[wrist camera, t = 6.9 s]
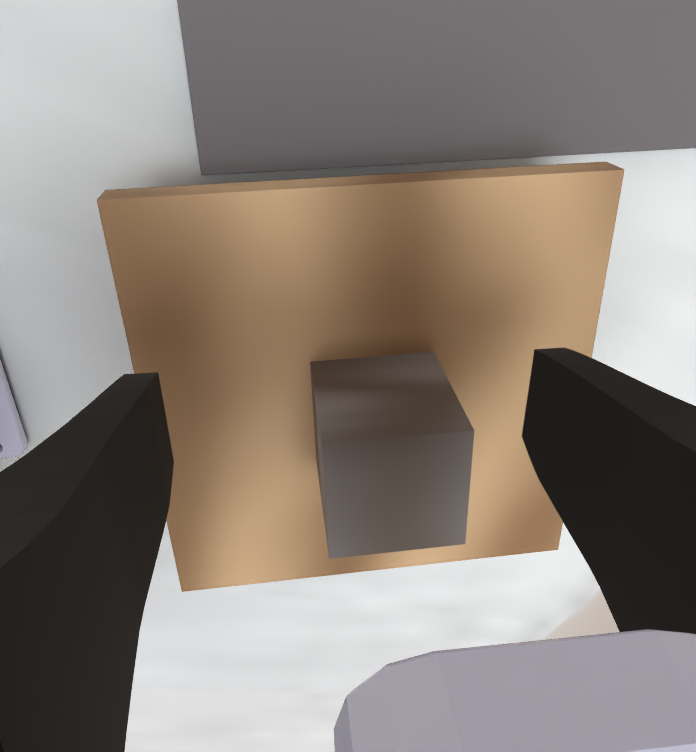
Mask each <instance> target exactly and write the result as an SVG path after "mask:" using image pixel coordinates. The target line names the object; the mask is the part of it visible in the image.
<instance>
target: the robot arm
mask: <svg viewBox="0 0 696 752" xmlns="http://www.w3.org/2000/svg"><path fill="white" fill-rule="evenodd" d="M522 439H523V441H524V444H525V447H526V449H527V452H528V455H529V457H530V460H531V462H532V465H533V467H534V470H535V472H536V475H537V477H538V479H539V481H540V483H541V484H542V486H543V488H544V490H545V491H546V493H547V495H548V497H549V498H550V500H551V502H552V504H553V505H554V507H555V509H556V511H557V512H558V514H559V516H560V517H561V519H562V521H563V523H564V524H565V526H566V528H567V529H568V531H569V533H570V534H571V536H572V538H573V540H574V541H575V543H576V545H577V546H578V548H579V550H580V551H581V553H582V555H583V557H584V558H585V560H586V562H587V563H588V565H589V567H590V569H591V571H592V573H593V575H594V576H595V578H596V580H597V582H598V584H599V586H600V588H601V590H602V593H603V595H604V597H605V599H606V601H607V604H608V606H609V609H610V611H611V613H612V615H613V618H614V620H615V622H616V624H617V627H618V629H619V631H620V632H618V633H608V634H599V635H589V636H579V637H569V638H559V639H549V640H540V641H530V642H520V643H510V644H501V645H491V646H481V647H471V648H462V649H452V650H442V651H433V652H430V653H426V654H422V655H419V656H415V657H412V658H408V659H405V660H401V661H397V662H394V663H390V664H387V665H386V666H385V667H383V668H382V669H381V670H379V671H378V672H377V673H375V674H374V675H373V676H371V677H370V678H369V679H367V680H366V681H365V682H363V683H362V684H361V685H359V686H358V687H357V688H355V689H354V690H353V691H352V692H351V693H350V694H348V695H347V696H346V699H345V701H344V704H343V707H342V709H341V712H340V714H339V717H338V719H337V722H336V725H335V727H334V746H335V752H696V406H694V405H691V404H689V403H687V402H684V401H682V400H680V399H677V398H675V397H673V396H670V395H668V394H666V393H664V392H662V391H659V390H657V389H655V388H653V387H651V386H649V385H647V384H644V383H642V382H640V381H638V380H636V379H634V378H632V377H630V376H628V375H626V374H624V373H622V372H620V371H617V370H615V369H613V368H611V367H609V366H607V365H605V364H603V363H601V362H599V361H597V360H595V359H592V358H590V357H588V356H586V355H583V354H581V353H579V352H576V351H574V350H571V349H568V348H565V347H564V348H548V349H534V355H533V362H532V369H531V376H530V383H529V389H528V396H527V403H526V410H525V417H524V424H523V431H522ZM0 444H1V446H2V447H1V448H0V458H8V457H16V456H19V455H20V454H22V453H23V451H24V449H25V447H26V445H27V439H26V436H25V433H24V430H23V427H22V424H21V421H20V418H19V415H18V412H17V409H16V406H15V403H14V400H13V397H12V394H11V391H10V388H9V384H8V381H7V378H6V375H5V372H4V369H3V366H2V363H1V360H0ZM173 467H174V459H173V453H172V448H171V442H170V436H169V431H168V425H167V419H166V414H165V408H164V402H163V396H162V391H161V385H160V379H159V374H158V372H154V373H138V374H124V375H123V376H122V377H120V378H119V379H118V380H117V381H115V382H114V383H113V384H112V385H111V386H109V387H108V388H107V389H106V390H105V391H104V392H103V393H101V394H100V395H99V396H98V397H97V398H96V399H95V400H93V401H92V402H91V403H90V404H89V405H88V406H86V407H85V408H84V409H83V410H82V411H81V412H79V413H78V414H77V415H76V416H75V417H73V418H72V419H71V420H70V421H69V422H68V423H66V424H65V425H64V426H63V427H61V428H60V429H59V430H58V431H56V432H55V433H54V434H52V435H51V436H50V437H48V438H47V439H46V440H44V441H43V442H42V443H41V444H39V445H38V446H37V447H35V448H34V449H33V450H31V451H30V452H29V453H27V454H26V455H25V456H23V457H22V458H20V459H19V460H18V461H16V462H15V463H13V464H12V465H10V466H9V467H7V468H6V469H4V470H3V471H1V472H0V752H124V750H125V740H126V731H127V723H128V715H129V706H130V698H131V690H132V681H133V674H134V667H135V659H136V652H137V645H138V638H139V630H140V625H141V620H142V616H143V611H144V606H145V602H146V598H147V594H148V590H149V586H150V582H151V578H152V574H153V570H154V567H155V563H156V559H157V555H158V551H159V547H160V543H161V539H162V535H163V531H164V527H165V523H166V519H167V514H168V510H169V506H170V497H171V488H172V478H173Z"/></svg>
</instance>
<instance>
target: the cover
mask: <svg viewBox="0 0 696 752" xmlns="http://www.w3.org/2000/svg"><path fill="white" fill-rule="evenodd" d="M623 175H624V169H622V168H620V167H617V166H615V165H613V164H610V163H608V162H593V163H575V164H557V165H540V166H522V167H504V168H487V169H469V170H451V171H434V172H416V173H398V174H381V175H363V176H345V177H328V178H310V179H292V180H275V181H257V182H239V183H222V184H204V185H186V186H169V187H151V188H133V189H116V190H105V191H104V192H103V194H102V195H101V196H100V197H99V198H98V199H97V203H98V208H99V213H100V217H101V222H102V226H103V231H104V236H105V240H106V245H107V249H108V254H109V258H110V263H111V268H112V272H113V277H114V281H115V286H116V291H117V295H118V300H119V304H120V309H121V314H122V318H123V323H124V327H125V332H126V337H127V341H128V346H129V350H130V355H131V360H132V364H133V369H134V373H135V374H138V373H154V372H158V374H159V379H160V385H161V391H162V396H163V402H164V408H165V414H166V419H167V425H168V431H169V436H170V442H171V448H172V453H173V459H174V467H173V478H172V488H171V497H170V506H169V510H168V514H167V519H166V520H167V525H168V529H169V534H170V539H171V543H172V548H173V552H174V557H175V562H176V566H177V571H178V575H179V580H180V585H181V589H182V592H183V591H192V590H201V589H210V588H219V587H228V586H237V585H246V584H255V583H264V582H273V581H282V580H291V579H300V578H309V577H318V576H327V575H335V574H344V573H353V572H362V571H371V570H380V569H389V568H398V567H407V566H416V565H425V564H434V563H443V562H452V561H461V560H470V559H478V558H487V557H496V556H505V555H514V554H523V553H532V552H541V551H550V550H558V547H559V541H560V535H561V529H562V524H563V521H562V519H561V517H560V516H559V514H558V512H557V511H556V509H555V507H554V505H553V504H552V502H551V500H550V498H549V497H548V495H547V493H546V491H545V490H544V488H543V486H542V484H541V483H540V481H539V479H538V477H537V475H536V472H535V470H534V467H533V465H532V462H531V460H530V457H529V455H528V452H527V449H526V447H525V444H524V441H523V439H522V431H523V424H524V417H525V410H526V403H527V396H528V389H529V383H530V376H531V369H532V362H533V355H534V349H548V348H564V347H565V348H568V349H571V350H574V351H576V352H579V353H581V354H583V355H586V356H588V357H590V358H592V352H593V346H594V341H595V335H596V329H597V324H598V318H599V312H600V306H601V301H602V295H603V289H604V283H605V278H606V272H607V266H608V261H609V255H610V249H611V243H612V238H613V232H614V226H615V221H616V215H617V209H618V203H619V198H620V192H621V186H622V180H623Z"/></svg>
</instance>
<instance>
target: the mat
mask: <svg viewBox="0 0 696 752" xmlns="http://www.w3.org/2000/svg"><path fill="white" fill-rule="evenodd" d="M177 1H178V9H179V16H180V23H181V31H182V38H183V45H184V53H185V60H186V67H187V75H188V82H189V89H190V96H191V104H192V111H193V118H194V126H195V133H196V140H197V148H198V155H199V162H200V170H201V175H215V174H233V173H251V172H269V171H287V170H305V169H323V168H341V167H359V166H378V165H396V164H414V163H432V162H450V161H468V160H486V159H504V158H523V157H541V156H559V155H577V154H595V153H613V152H631V151H649V150H667V149H686V148H696V0H177Z"/></svg>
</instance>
